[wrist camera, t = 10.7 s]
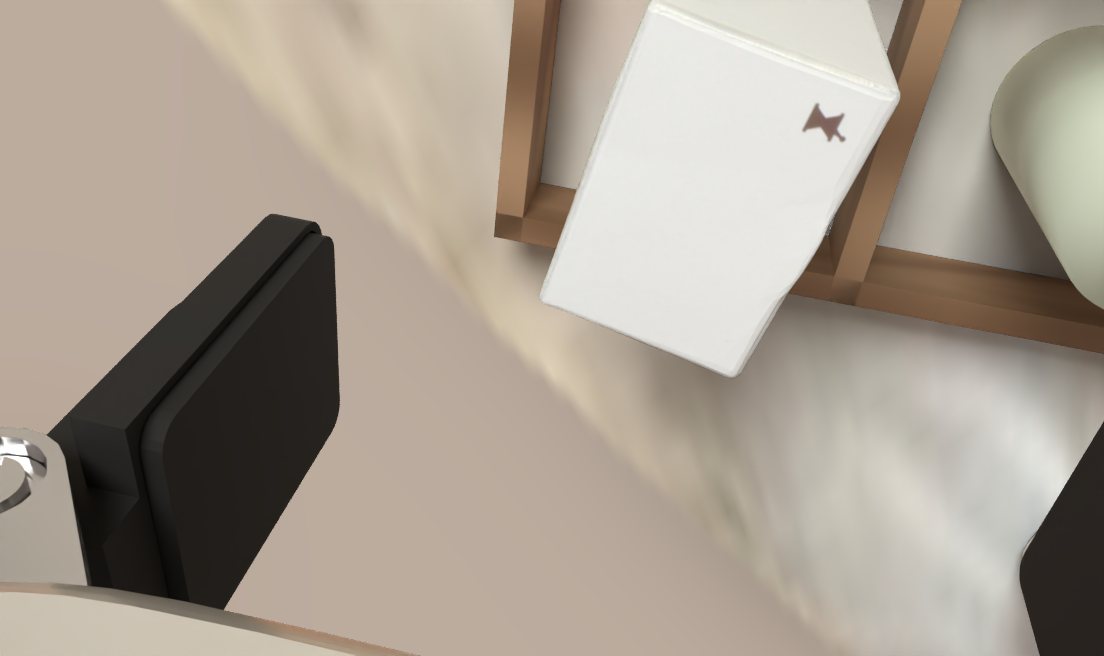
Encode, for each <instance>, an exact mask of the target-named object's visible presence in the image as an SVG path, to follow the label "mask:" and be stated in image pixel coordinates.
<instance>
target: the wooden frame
mask: <svg viewBox="0 0 1104 656" xmlns="http://www.w3.org/2000/svg"><path fill="white" fill-rule="evenodd" d="M560 2H561V0H515V1H514V12H513V24H512V35H511V47H510V59H509V70H508V82H507V93H506V105H505V116H504V128H503V139H502V151H501V162H500V174H499V186H498V197H497V209H496V220H495V232H494V237H498V238H503V239H509V240H514V241H519V242H524V243H529V244H535V245H540V246H545V247H550V248H555V249H556V247H557V244H558V242H559V239H560V236H561V233H562V230H563V227H564V225H565V222H566V219H567V216H568V213H569V210H570V208H571V205H572V202H573V199H574V197H575V194H576V191H577V190H575V189H570V188H564V187H559V186H553V185H548V184H543V183H540V177H541V169H542V160H543V151H544V142H545V134H546V125H547V116H548V107H549V98H550V90H551V81H552V72H553V63H554V55H555V46H556V37H557V28H558V20H559V11H560ZM961 2H962V0H904V1H903V4H902V8H901V11H900V14H899V17H898V20H897V23H896V26H895V30H894V33H893V36H892V39H891V42H890V45H889V49H888V52H887V57H888V60H889V63H890V66H891V68H892V71H893V74H894V76H895V79H896V82H897V85H898V89H899V91H900V100H899V102H898V104H897V106H896V108H895V110H894V112H893V114H892V115H891V117H890V119H889V121H888V122H887V124H886V126H885V128H884V129H883V131H882V133H881V135H880V136H879V138H878V140H877V142H876V143H875V145H874V147H873V149H872V150H871V152H870V154H869V156H868V158H867V159H866V161H865V163H864V165H863V166H862V168H861V170H860V172H859V174H858V175H857V177H856V179H855V180H854V182H853V184H852V186H851V187H850V189H849V191H848V193H847V194H846V196H845V198H844V200H843V201H842V203H841V205H840V206H839V208H838V210H837V212H836V216H835V219H834V222H833V225H832V228H831V231H830V235H829V236H824V237H823V240H822V242H821V244H820V246H819V247H818V249H817V251H816V253H815V254H814V256H813V258H812V259H811V261H810V262H809V264H808V266H807V267H806V269H805V270H804V272H803V273H802V274H801V276H800V277H799V278H798V280H797V281H796V282H795V284H794V285H793V286H792V288H791V289H790V291H789V292H788V293H790V294H795V295H800V296H806V297H811V298H816V299H821V300H827V301H832V302H837V303H842V304H847V305H853V306H858V307H863V308H868V309H873V310H879V311H884V312H889V313H894V314H900V315H905V316H910V317H915V318H920V319H926V320H931V321H936V322H941V323H946V324H952V325H957V326H962V327H967V328H972V329H978V330H983V331H988V332H993V333H999V334H1004V335H1009V336H1014V337H1019V338H1025V339H1030V340H1035V341H1040V342H1045V343H1051V344H1056V345H1061V346H1066V347H1072V348H1077V349H1082V350H1087V351H1092V352H1098V353H1103V354H1104V309H1102V308H1101V307H1099V306H1097V305H1095V304H1094V303H1092V302H1091V301H1090V300H1088V299H1087V298H1085V297H1084V296H1083V295H1082V294H1081V293H1080V292H1079V291H1078V290H1077V288H1076V287H1075V286H1074V284H1073V283H1072V281H1066V280H1061V279H1055V278H1050V277H1045V276H1039V275H1034V274H1028V273H1023V272H1018V271H1012V270H1007V269H1001V268H996V267H991V266H985V265H980V264H974V263H969V262H964V261H958V260H953V259H947V258H942V257H937V256H931V255H926V254H920V253H915V252H910V251H904V250H899V249H894V248H888V247H883V246H877V245H876V244H877V241H878V238H879V235H880V232H881V230H882V227H883V224H884V221H885V218H886V215H887V213H888V210H889V207H890V204H891V201H892V198H893V196H894V193H895V190H896V187H897V184H898V181H899V178H900V176H901V173H902V170H903V167H904V164H905V161H906V159H907V156H908V153H909V150H910V147H911V144H912V142H913V139H914V136H915V133H916V130H917V127H918V124H919V122H920V119H921V116H922V113H923V110H924V107H925V105H926V102H927V99H928V96H929V93H930V90H931V87H932V85H933V82H934V79H935V76H936V73H937V70H938V68H939V65H940V62H941V59H942V56H943V53H944V51H945V48H946V45H947V42H948V39H949V36H950V33H951V31H952V28H953V25H954V22H955V19H956V16H957V14H958V11H959V8H960V5H961Z"/></svg>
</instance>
